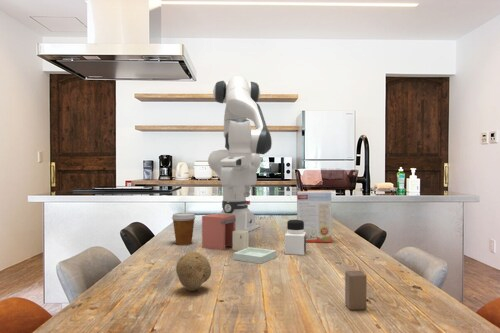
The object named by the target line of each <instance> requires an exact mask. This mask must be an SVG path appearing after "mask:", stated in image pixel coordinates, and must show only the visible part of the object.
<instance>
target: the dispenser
mask: <svg viewBox="0 0 500 333" xmlns="http://www.w3.org/2000/svg"><path fill="white" fill-rule="evenodd" d="M235 222H236V218H235V215H226V214H221V213H211V214H210V213H209V214H206V215H202V216H201V239H202V240H201V247H202V249H210V250H211V249H212V250H219V251H225V250H226V247H232V248H233V231H235Z"/></svg>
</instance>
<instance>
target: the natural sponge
mask: <svg viewBox="0 0 500 333" xmlns="http://www.w3.org/2000/svg"><path fill="white" fill-rule="evenodd" d="M175 271H176V274H177V278H178V280H179V282H180V284H181V285H182V286H183V287H184V288H185V289H186V290H188V291H189V292H194V291H197V290H198V289H199V288H200V287H201V286H202V285H203V284H204V283H205V282H207V281H208V280H209V279H210V277H211V275H212V267H211V263H210V262H209V260H208V258H207V257H206V256H205V255H203V254H202V253H200V252H197V251H190V252H187V253H185V254H183V255H182V256H181V257H180V258H179V259H178V260H177V263H176V267H175Z"/></svg>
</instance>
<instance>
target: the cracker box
mask: <svg viewBox="0 0 500 333" xmlns="http://www.w3.org/2000/svg"><path fill="white" fill-rule="evenodd" d="M296 198H297V199H296V219H297V220H302V221H303V222H304V231H303V232H306V243H332V240H333V239H332V192H331V191H329V190H328V191H327V190H325V191H324V190H320V191H319V190H317V191H316V190H300V191H299V190H298V191H296Z"/></svg>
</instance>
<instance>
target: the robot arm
mask: <svg viewBox="0 0 500 333" xmlns="http://www.w3.org/2000/svg"><path fill="white" fill-rule="evenodd" d="M212 92H213V97H214V101H216V103H218V104H226V105H225V109H224V116H223V137H224V140H225V142H224V144H225V145H224V147H225V149H218V150H214V151H212V152H210V153H209V156H208V159H207V163H208V166H209V168H210V170H212V172H214V173H215V174H216V176H218V178H219V180H220V184H221V186H222V201H221V202H222V203H221V208H222V210H221V211H220V214H226V215H235V218H236V222H235V231H236V230H242V231H249V232H252V231H255V230H257V229H258V228H260V227H261V225H260V224H257V223H256V216H255V214H254V213H253V212H252V211H251V210H250V209H249V207H248V206H250V205H251V201H250V200H247V199H246V198H249V197H250V192H251V189H252V186H256V184H257V181H258V178H257V170H258V169H259V168H260V166H261V165H262V164H261V163H262V162H261V161H262V158H261V155H266V154H267V153H269V152H270V150H271V149H272V145H273V140H272V136H271V133H270V131H269V129H268V126H267V123H266V120H265V117H264V114H263V111H262V109H261V107H260V104H259V103H258V102H259V100H260V98H261V97H260V96H261V89H260V86H259V84H258V83H257V82H254V81H248V80H247V79H246V78H245V77H243V76H241V75H236V76H232V77H231V78H230V79H229V80H220V81H216V83H215V85H214V86H213V90H212ZM251 121H252V122H253V124H254V127H255V129H252V126H251Z"/></svg>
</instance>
